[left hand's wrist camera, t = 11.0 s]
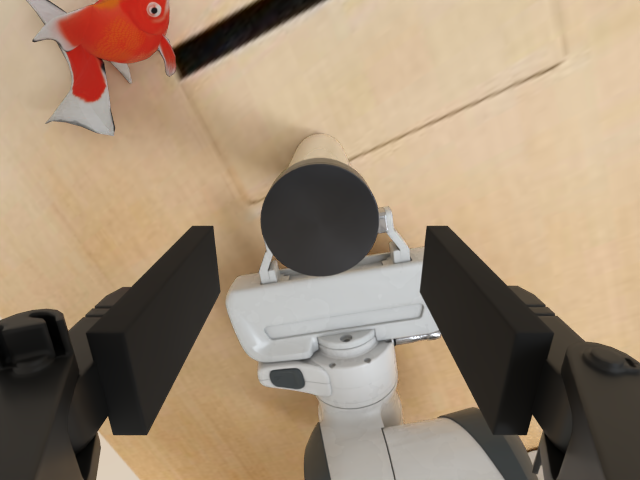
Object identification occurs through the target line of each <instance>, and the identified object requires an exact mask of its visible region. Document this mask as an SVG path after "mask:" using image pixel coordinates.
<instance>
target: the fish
mask: <svg viewBox="0 0 640 480" xmlns="http://www.w3.org/2000/svg"><path fill="white" fill-rule="evenodd" d="M26 1H27V2H28V3H29V4H30V5H31V7H32V8H33V9H34V10H35V11H36V13H37V14H38V16H39V17H40V19H41V20H42V21H43V23H44V24H45V25H44V26H43V28H42V29H41V30H40V31H39V33H38V34H37V35H36V36H35V38H34V39H33V41H32V42H37V41H41V40H46V39H52V40H55V41H56V42H57V43H58V45H59V47H60V49H61V51H62V53H63V54H64V56H65V58H66V60H67V62H68V64H69V68H70V71H71V76H72V85H71V89H70V91H69V93H68V94H67V96H66V97H65V98H64V100H63V101H62V102H61V104H60V105H59V106H58V108H57V109H56V111H55V112H54V114H53V115H52V116H51V117H50V119H49V120H48V121H47V122H46V123H45V124H47V123H49V122H51V121H57V122H66V123H70V124H74V125H78V126H81V127H84V128H86V129H88V130H91V131H93V132H95V133H99V134H106V135H112V136H114V132H115V126H114V121H113V117H112V113H111V107H110V99H109V92H108V85H107V79H106V73H105V67H104V63H103V61H102V59H104V60H107V61H111V63H112V64H113V65H114V67H115V68H116V69H117V70H118V71H119V72H120V73H121V74H122V75H123V76H124V77H125V78H126V80H127V81H128V82H129V83H132V80H131V75H130V71H129V68H128V65H127V63H134V62H138V61H142V60H145V59H147V58H149V57H150V56H151V55H152V54H153V53H154V52H156V51H157V50H158V51H159V52H160V53H161V55H162V57H163V59H164V62H165V71H166V74H167V75H168V76H169V77H170V76H171V75H173V74H174V73H175V71H176V63H175V54H174V52H173V49H172V47H171V45H170V42H169V40H168V39H167V38H166V37H165V35H166V33H167V29H168V24H169V1H168V0H99V1H97V2H96V3H95V4H93V5H89V6H86V7H83V8H81V9H78V10H75V11H72V12H69V13H66V12H65V11H64V10H62V9H61V8H59V7H58V6H56V5H55V4H53V3H52V2H50V1H49V0H26Z"/></svg>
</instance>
